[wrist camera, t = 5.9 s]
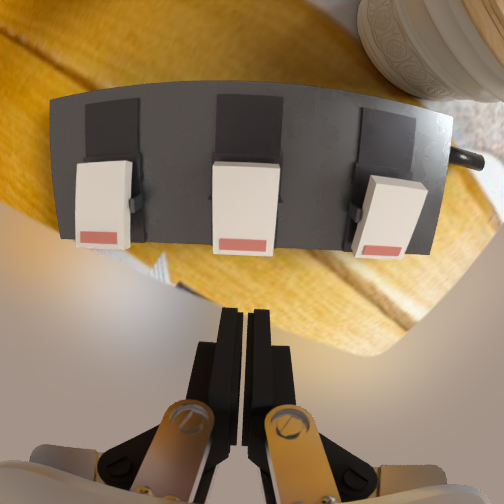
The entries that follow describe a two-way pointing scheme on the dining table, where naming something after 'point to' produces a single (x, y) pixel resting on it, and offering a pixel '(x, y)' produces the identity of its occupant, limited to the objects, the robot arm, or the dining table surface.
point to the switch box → (252, 155)
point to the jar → (437, 46)
